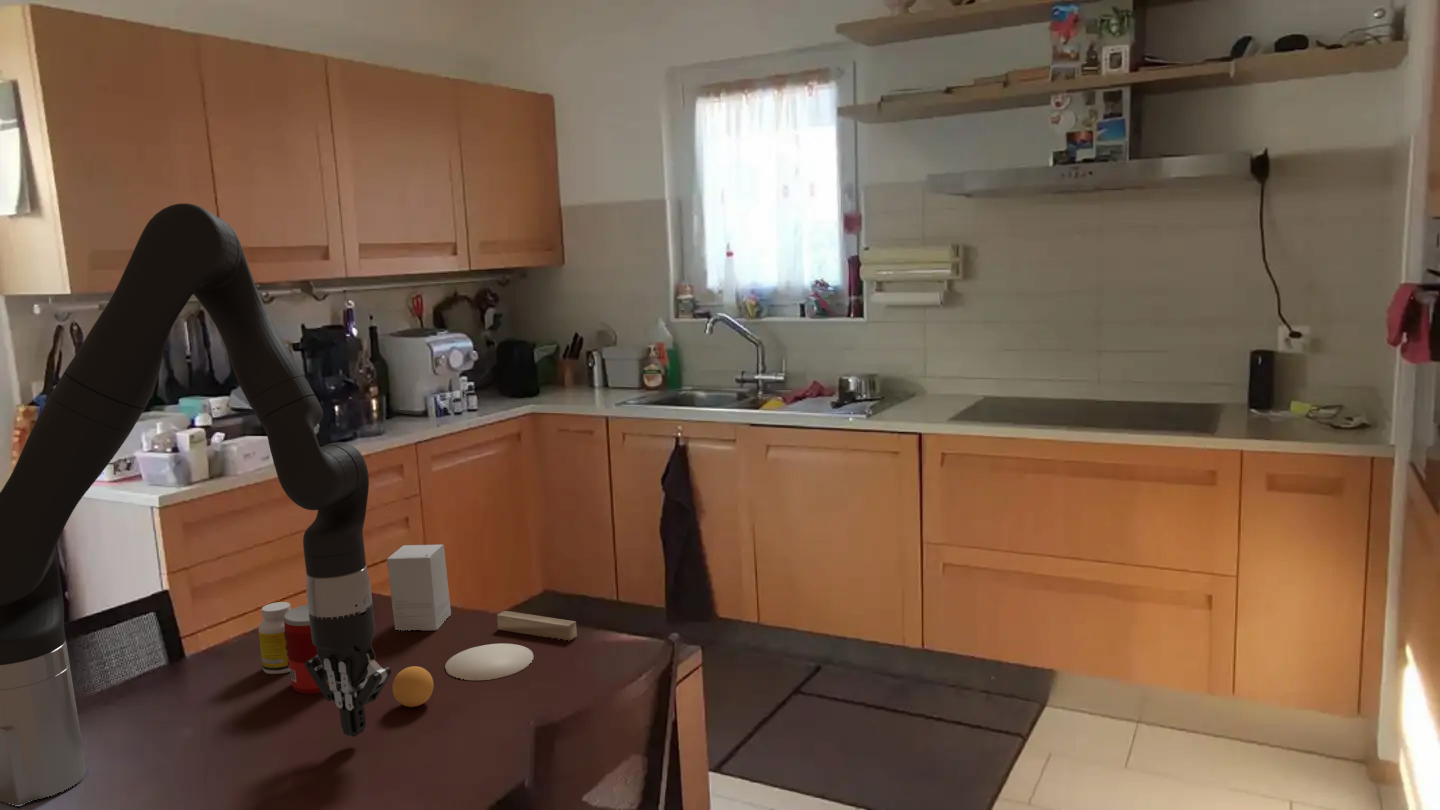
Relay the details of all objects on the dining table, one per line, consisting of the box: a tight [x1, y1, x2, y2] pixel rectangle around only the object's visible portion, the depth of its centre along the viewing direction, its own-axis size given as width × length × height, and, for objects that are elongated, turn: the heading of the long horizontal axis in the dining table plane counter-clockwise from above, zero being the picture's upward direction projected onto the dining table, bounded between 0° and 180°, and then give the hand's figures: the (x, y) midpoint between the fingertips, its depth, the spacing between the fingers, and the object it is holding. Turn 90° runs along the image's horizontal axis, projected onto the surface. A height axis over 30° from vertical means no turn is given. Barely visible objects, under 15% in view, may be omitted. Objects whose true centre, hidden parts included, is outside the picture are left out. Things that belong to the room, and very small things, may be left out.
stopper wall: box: [496, 610, 578, 642], centre depth 167 cm, size 2×14×2 cm, turn 64°
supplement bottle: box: [258, 601, 292, 675], centre depth 157 cm, size 5×5×10 cm
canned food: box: [284, 603, 329, 695], centre depth 151 cm, size 8×8×11 cm
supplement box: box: [386, 543, 452, 632], centre depth 173 cm, size 7×7×13 cm
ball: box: [392, 665, 435, 708], centre depth 143 cm, size 5×5×5 cm
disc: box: [444, 643, 534, 681], centre depth 157 cm, size 13×13×1 cm
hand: (354, 733), depth 133 cm, fingers closed
